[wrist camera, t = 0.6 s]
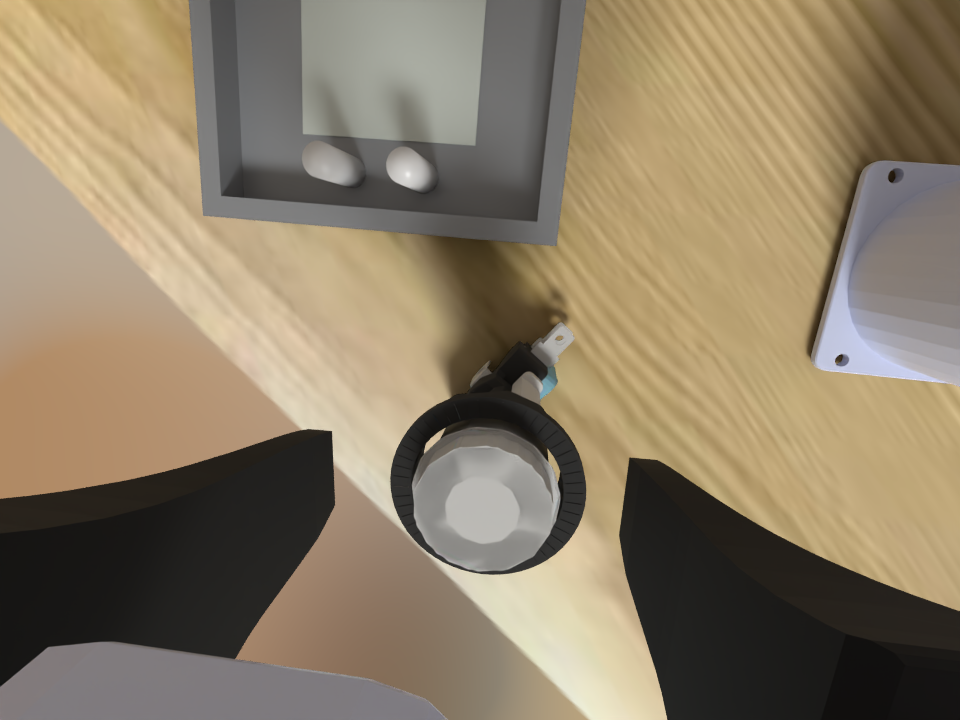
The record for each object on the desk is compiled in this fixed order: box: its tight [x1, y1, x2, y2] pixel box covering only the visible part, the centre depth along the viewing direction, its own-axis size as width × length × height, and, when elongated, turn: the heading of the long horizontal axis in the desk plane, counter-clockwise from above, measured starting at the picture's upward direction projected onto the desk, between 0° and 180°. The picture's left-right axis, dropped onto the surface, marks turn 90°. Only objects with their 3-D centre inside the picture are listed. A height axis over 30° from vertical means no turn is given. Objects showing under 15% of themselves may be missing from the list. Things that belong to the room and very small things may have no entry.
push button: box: [390, 322, 586, 575], centre depth 16 cm, size 7×5×10 cm
